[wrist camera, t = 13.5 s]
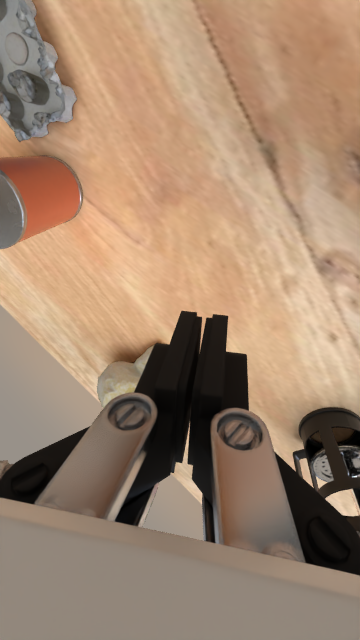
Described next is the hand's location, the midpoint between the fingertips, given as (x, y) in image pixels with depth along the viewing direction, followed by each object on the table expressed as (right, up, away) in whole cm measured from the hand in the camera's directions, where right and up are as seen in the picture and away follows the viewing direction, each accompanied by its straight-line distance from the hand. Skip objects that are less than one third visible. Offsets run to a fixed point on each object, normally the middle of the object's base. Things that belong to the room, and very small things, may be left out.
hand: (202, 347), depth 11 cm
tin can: (-16, +16, +23) cm, 32 cm away
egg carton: (-15, +25, +17) cm, 34 cm away
